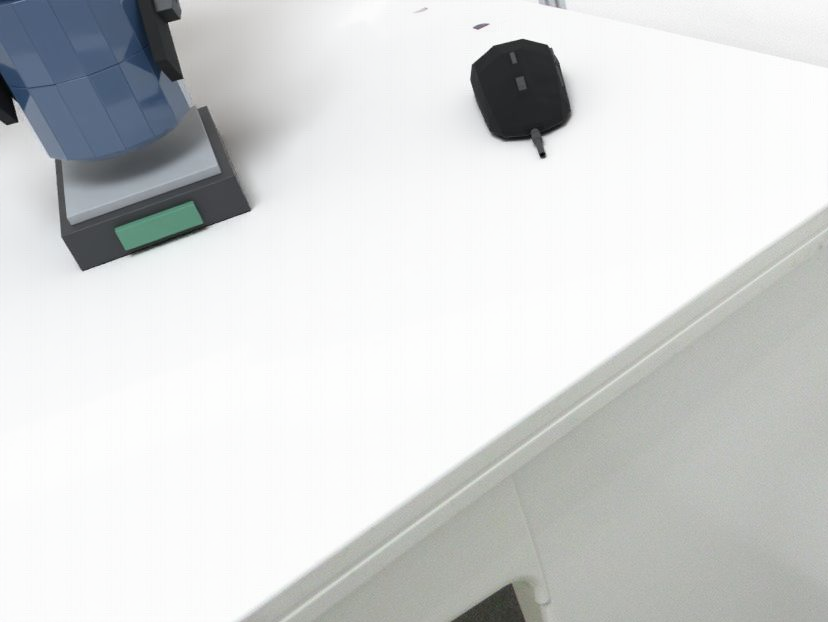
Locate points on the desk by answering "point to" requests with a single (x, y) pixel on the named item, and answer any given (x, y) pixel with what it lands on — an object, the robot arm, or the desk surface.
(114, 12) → the blue faceted tumbler
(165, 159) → the scale
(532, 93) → the gaming mouse
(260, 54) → the desk surface
